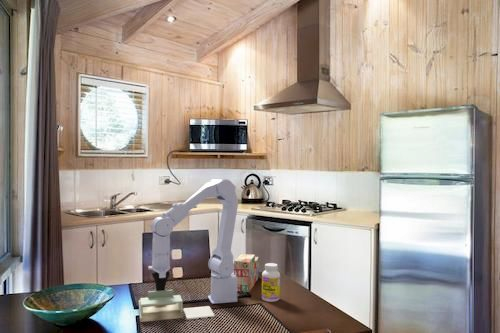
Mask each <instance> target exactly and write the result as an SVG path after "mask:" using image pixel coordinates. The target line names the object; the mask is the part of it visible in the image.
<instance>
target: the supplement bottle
mask: <svg viewBox="0 0 500 333" xmlns="http://www.w3.org/2000/svg"><path fill="white" fill-rule="evenodd" d="M278 268H279V267H278V264H277V263H273V262H268V263H265V264H264V269H265V270H263V271H262V273H261V276H262V277H261V299H262V300H263V301H265V302H267V303H268V302H269V303H273V302H278V301H279V300H280V298H281V297H280V292H281V287H280V286H281V273H280V272H279V270H278Z"/></svg>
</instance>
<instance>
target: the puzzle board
mask: <svg viewBox="0 0 500 333" xmlns="http://www.w3.org/2000/svg"><path fill="white" fill-rule="evenodd" d="M138 311H139V312H138V313H139V315H138V316H139V323H145V322H155V321H164V320H174V319H175V320H176V319H183V318H184V316H185V314H184V311H183V312H180V309H179V306H178V303H177V304H166V305H162V306H143V316H141V313H140V299H138Z"/></svg>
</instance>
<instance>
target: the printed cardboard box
mask: <svg viewBox="0 0 500 333" xmlns="http://www.w3.org/2000/svg"><path fill="white" fill-rule="evenodd" d="M259 259H260V257H259V256H256V255H255V254H251V253H250V254H248V253H246V254H245V253H241V254H240V255H238V257H237V258H235V260H234V259H233V263H234V271H233V275H236V277H237V291H243V292H242V293H246V292H249V293H250V292H251V290H252V289H253V287H254V286H255V283H257V281H258V279H259V277H260V276H259V275H260V262H259V261H260V260H259Z"/></svg>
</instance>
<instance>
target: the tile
mask: <svg viewBox="0 0 500 333" xmlns="http://www.w3.org/2000/svg"><path fill="white" fill-rule="evenodd" d="M183 314H184V316H185V318H186V320H187V321H188V320H200V319H199V318H201V319H209V318H208V317H211V318H215V317H216V315H215V313H214V312H213V310H212V308H211V307H210V305H205V306H194V307H184V308H183Z"/></svg>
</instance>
